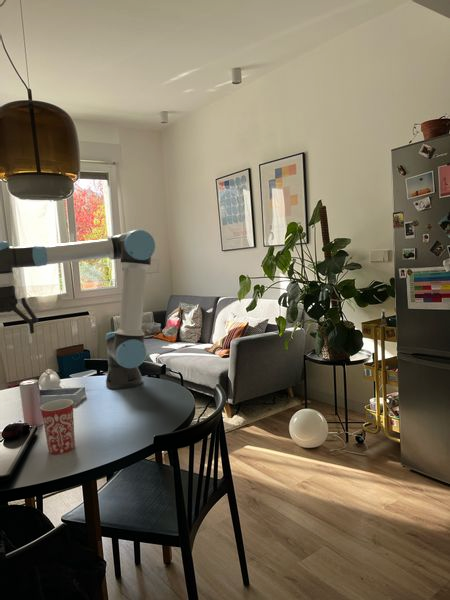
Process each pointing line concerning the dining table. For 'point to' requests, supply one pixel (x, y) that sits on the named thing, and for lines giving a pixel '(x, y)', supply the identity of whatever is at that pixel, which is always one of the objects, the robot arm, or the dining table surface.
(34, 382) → the beverage can
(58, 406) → the mug
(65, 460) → the dining table surface
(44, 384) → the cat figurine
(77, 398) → the grey shallow rectangular tray
